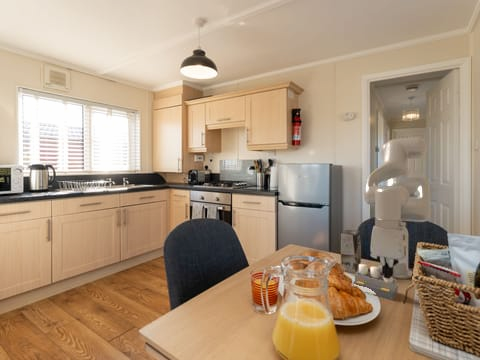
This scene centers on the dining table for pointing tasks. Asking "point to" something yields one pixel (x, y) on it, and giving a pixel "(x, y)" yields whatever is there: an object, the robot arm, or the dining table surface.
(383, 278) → the end button
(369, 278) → the button board
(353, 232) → the coffee box
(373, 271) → the middle button
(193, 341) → the dining table surface
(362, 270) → the end button
